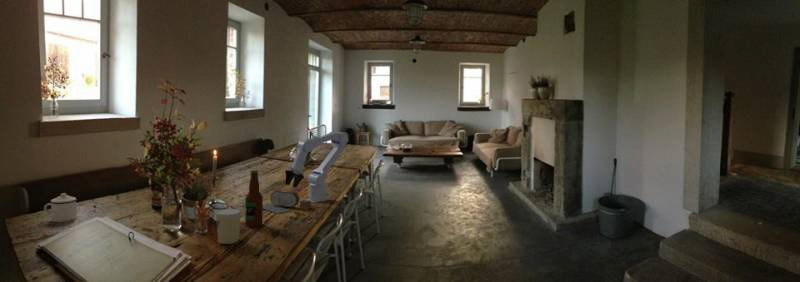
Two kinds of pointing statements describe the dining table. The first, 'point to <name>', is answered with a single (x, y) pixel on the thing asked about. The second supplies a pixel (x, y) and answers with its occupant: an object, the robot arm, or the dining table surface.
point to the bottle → (253, 202)
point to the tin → (284, 198)
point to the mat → (275, 208)
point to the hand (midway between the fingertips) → (290, 186)
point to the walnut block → (305, 204)
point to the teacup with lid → (62, 208)
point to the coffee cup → (228, 225)
